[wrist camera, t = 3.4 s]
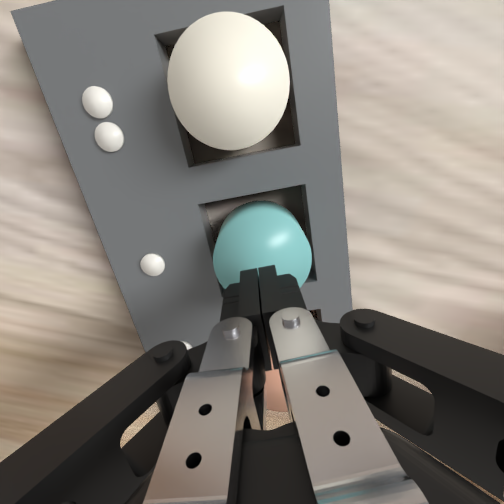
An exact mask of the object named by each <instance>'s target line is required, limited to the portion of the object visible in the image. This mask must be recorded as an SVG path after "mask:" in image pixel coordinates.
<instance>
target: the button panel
mask: <svg viewBox="0 0 504 504" xmlns="http://www.w3.org/2000/svg"><path fill="white" fill-rule="evenodd" d="M216 12H237V13H241V14H244V15H247V16H250V17H252V18H254V19H255V20H257V21H259V22H260V23H261V24H267V23H272V22H276V21H280V29H281V36H282V44H283V52H284V55H285V58H286V61H287V64H288V70H289V79H290V86H289V99H290V107H291V115H292V123H293V130H294V138H295V144H293V145H288V146H283V147H278V148H273V149H268V150H263V151H258V152H253V153H248V154H243V155H238V156H233V157H228V158H223V159H218V160H213V161H208V162H203V163H198V164H195V163H194V159H193V155H192V151H191V147H190V143H189V139H188V135H187V131H186V129H185V127H184V126H183V125H182V123H181V122H180V120H179V119H178V117H177V115H176V113H175V111H174V109H173V107H172V104H171V100H170V97H169V92H168V82H167V78H168V66H169V59H168V55H167V51H166V47H165V46H169V45H173V44H176V43H177V41H178V39H179V38H180V36H181V35H182V34H183V33H184V31H185V30H186V29H187V28H188V27H189V26H190V25H191V24H193V23H194V22H196V21H197V20H198V19H200V18H202V17H204V16H206V15H209V14H212V13H216ZM11 14H12V16H13V19H14V21H15V24H16V27H17V29H18V32H19V34H20V37H21V39H22V42H23V44H24V47H25V49H26V52H27V54H28V57H29V59H30V62H31V64H32V67H33V69H34V72H35V75H36V77H37V80H38V82H39V85H40V87H41V90H42V92H43V95H44V97H45V100H46V102H47V105H48V107H49V110H50V112H51V115H52V117H53V120H54V123H55V125H56V128H57V130H58V133H59V135H60V138H61V140H62V143H63V145H64V148H65V150H66V153H67V155H68V158H69V160H70V163H71V165H72V168H73V171H74V173H75V176H76V178H77V181H78V183H79V186H80V188H81V191H82V193H83V196H84V198H85V201H86V203H87V206H88V208H89V211H90V213H91V216H92V219H93V221H94V224H95V226H96V229H97V231H98V234H99V236H100V239H101V241H102V244H103V246H104V249H105V251H106V254H107V256H108V259H109V261H110V264H111V267H112V269H113V272H114V274H115V277H116V279H117V282H118V284H119V287H120V289H121V292H122V294H123V297H124V299H125V302H126V304H127V307H128V309H129V312H130V315H131V317H132V320H133V322H134V325H135V327H136V330H137V332H138V335H139V337H140V340H141V342H142V345H143V347H144V350H145V352H147V351H149V350H150V349H151V348H153V347H154V346H156V345H158V344H160V343H163V342H166V341H171V340H177V341H181V342H183V343H184V344H185V345H186V348H187V350H188V349H191V348H193V347H196V346H198V345H201V344H203V343H205V342H207V341H208V338H209V335H210V332H211V330H212V328H213V327H214V326H215V325H216V324H217V323H219V322H220V316H221V309H222V302H223V295H224V290H225V289H224V288H223V286H222V285H221V284H220V282H219V280H218V278H217V276H216V274H215V271H214V266H213V254H214V249H215V244H214V240H213V236H212V231H211V227H210V223H209V219H208V215H207V211H206V207H205V203H208V202H213V201H218V200H223V199H229V198H234V197H239V196H244V195H250V194H255V193H260V192H265V191H271V190H276V189H281V188H286V187H292V186H297V185H301V193H302V201H303V209H304V217H305V224H306V232H307V240H308V242H309V245H310V248H311V253H312V263H311V268H310V272H309V275H308V277H307V279H306V281H305V282H304V283H303V285H302V286H301V287H300V291H301V294H302V296H303V299H304V302H305V305H306V308H307V310H308V311H309V310H315V309H316V311H317V318H318V320H319V321H322V322H328V323H340V319H341V317H342V316H343V315H344V314H345V313H347V312H349V311H352V297H351V283H350V270H349V257H348V244H347V231H346V218H345V205H344V192H343V178H342V165H341V152H340V139H339V126H338V113H337V100H336V86H335V73H334V60H333V47H332V34H331V21H330V8H329V0H55V1H51V2H47V3H43V4H39V5H34V6H30V7H26V8H22V9H18V10H13V11H11ZM267 410H268V409H267Z"/></svg>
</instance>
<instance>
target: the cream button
mask: <svg viewBox="0 0 504 504" xmlns="http://www.w3.org/2000/svg"><path fill="white" fill-rule="evenodd" d="M167 82H168V92H169V97H170V100H171V104H172V107H173V109H174V111H175V113H176V115H177V117H178V119H179V120H180V122H181V123H182V125H183V126H184V127H185V129H186V130H187V131H188V132H189V133H190V134H191V135H192V136H194V137H195V138H196V139H197V140H199V141H201V142H202V143H204V144H206V145H208V146H211V147H214V148H217V149H222V150H238V149H243V148H247V147H250V146H252V145H254V144H256V143H258V142H260V141H261V140H263V139H264V138H265V137H266V136H268V135H269V134H270V133H271V131H272V130H273V129H274V128H275V127H276V125H277V124H278V122H279V121H280V119H281V117H282V115H283V113H284V110H285V108H286V105H287V101H288V96H289V86H290V79H289V70H288V64H287V61H286V58H285V55H284V53H283V50H282V48H281V46H280V44H279V43H278V41H277V39H276V38H275V37H274V36H273V34H272V33H271V32H270V31H269V30H268V29H267V28H266V27H265V26H264V25H263V24H261V23H260V22H259V21H257V20H255V19H254V18H252V17H250V16H247V15H244V14H241V13H237V12H216V13H212V14H209V15H206V16H204V17H202V18H200V19H198V20H197V21H196V22H194V23H193V24H191V25H190V26H189V27H188V28H187V29H186V30H185V31H184V33H183V34H182V35H181V36H180V38H179V39H178V41H177V43H176V45H175V47H174V49H173V51H172V54H171V57H170V61H169V66H168V78H167Z"/></svg>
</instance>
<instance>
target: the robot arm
mask: <svg viewBox="0 0 504 504" xmlns="http://www.w3.org/2000/svg"><path fill="white" fill-rule="evenodd" d="M258 272H259V275H258ZM270 353H271V356H270ZM271 358H272V362H273V367H274V370H276V369H279V374H280V379H281V384H282V389H283V393H284V397H285V401H286V406H287V410H288V414H289V418H290V422H291V423H288V424H286V425H283V426H281V427H278V428H276V429H273V430H266V417H267V389H266V384H265V382H266V373H265V371H270V370H272V365H271ZM392 369H393V370H395V371H397V372H399V373H401V374H403V375H406V376H408V377H410V378H412V379H414V380H416V381H418V382H420V383H422V384H423V385H424V386H426V387H427V388H428V389H429V390H430V392H431V393H432V394H430V393H428V392H426V391H424V390H422V389H420V388H418V387H416V386H414V385H412V384H410V383H408V382H406V381H404V380H402V379H400V378H398V377H396V376H394V375H392ZM155 402H157V405H158V407H159V410H160V412H159V413H158V414H157V415H156V416H155V417H154V418H153V419H152V420H151V421H149V422H148V423H147V424H146V425H145V426H144V427H143V428H142V429H141V430H140V431H139V432H138V433H137V434H136V435H135V436H134V437H133V438H132V439H131V440H130V441H129V442H128V443H126V444H125V445H124V446H123V447H122V448H121V447H120V440H121V437H122V435H123V433H124V431H125V430H126V429H127V427H128V426H130V425H131V424H132V423H133V422H134V421H135V420H136V419H137V418H138V417H139V416H140V415H142V414H143V413H144V412H145V411H146V410H147V409H148V408H149V407H150V406H151V405H152V404H153V403H155ZM375 419H376V420H378V421H380V422H381V423H383V424H384V425H386V426H387V427H389V428H390V429H392V430H394V431H395V432H397V433H398V434H400V435H401V436H403V437H404V438H403V437H401V436H399V435H397V434H396V433H394V432H391V431H389V430H387V429H384V428H381V427H379V425H378V423H377V422H376V420H375ZM405 438H406V439H408V440H409V441H408V440H406V439H405ZM410 441H411V442H412V443H411V442H410ZM413 443H414V444H415V445H417V446H418V447H420V448H422V449H423V450H425V451H426V452H428V453H429V454H431V455H432V456H434V457H436V458H437V459H439V460H440V461H442V462H443V463H445V464H446V465H448V466H449V467H451V468H453V469H454V470H456V471H457V472H459V473H460V474H462V475H463V476H465V477H467V478H468V479H470V480H471V481H473V482H474V483H476V484H477V485H479V486H481V487H482V488H484V489H485V490H487V491H488V492H490V493H491V494H493V495H495V496H496V497H498V498H499V499H501V500H502V501H504V355H502V354H499V353H496V352H493V351H490V350H487V349H484V348H482V347H479V346H476V345H473V344H470V343H467V342H464V341H461V340H459V339H456V338H453V337H450V336H447V335H444V334H441V333H439V332H436V331H433V330H430V329H427V328H424V327H421V326H418V325H416V324H413V323H410V322H407V321H404V320H401V319H398V318H396V317H393V316H390V315H387V314H384V313H381V312H378V311H375V310H371V309H356V310H352V311H349V312H347V313H345V314H344V315H343V316H342V317H341V319H340V323H328V322H322V321H319V320H316V319H314V318H313V316H312V314H311V313H310V312H309V311H308V310H307V308H306V305H305V302H304V299H303V296H302V294H301V291H300V288H299V285H298V282H297V279H296V278H295V277H294V276H292V275H291V274H283V275H278V276H277V272H276V268H275V265H270V266H264V267H259V268H258V270H257V268H253V269H248V270H242V271H240V282H239V283H233V284H229V286H228V287H227V288H226V289H225V290H224V295H223V302H222V309H221V316H220V322H219V323H217V324H216V325H215V326H214V327H213V328H212V330H211V332H210V335H209V338H208V341H207V342H205V343H203V344H201V345H198V346H196V347H193V348H191V349H188V350H187V348H186V345H185V344H184V343H183V342H181V341H177V340H171V341H166V342H163V343H160V344H158V345H156V346H154V347H153V348H151V349H150V350H149V351H147V352H146V353H145V354H143V355H142V356H141V357H139V358H138V359H137V360H135V361H134V362H133V363H131V364H130V365H129V366H127V367H126V368H125V369H123V370H122V371H121V372H120V373H118V374H117V375H116V376H114V377H113V378H112V379H110V380H109V381H108V382H106V383H105V384H104V385H102V386H101V387H100V388H98V389H97V390H96V391H94V392H93V393H92V394H90V395H89V396H88V397H86V398H85V399H84V400H82V401H81V402H80V403H79V404H77V405H76V406H75V407H73V408H72V409H71V410H69V411H68V412H67V413H65V414H64V415H63V416H61V417H60V418H59V419H57V420H56V421H55V422H53V423H52V424H51V425H49V426H48V427H47V428H45V429H44V430H43V431H41V432H40V433H39V434H38V435H36V436H35V437H34V438H32V439H31V440H30V441H28V442H27V443H26V444H24V445H23V446H22V447H20V448H19V449H18V450H16V451H15V452H14V453H12V454H11V455H10V456H8V457H7V458H6V459H4V460H3V461H2V462H0V504H500V503H499V502H497V501H496V500H494V499H493V498H492V497H490V496H489V495H487V494H486V493H484V492H483V491H481V490H480V489H478V488H477V487H475V486H474V485H473V484H471V483H470V482H468V481H467V480H465V479H464V478H462V477H461V476H459V475H458V474H456V473H455V472H454V471H452V470H451V469H449V468H448V467H446V466H445V465H443V464H442V463H440V462H439V461H437V460H436V459H435V458H433V457H432V456H430V455H429V454H427V453H426V452H424V451H423V450H421V449H420V448H418V447H417V446H415V445H414V444H413Z"/></svg>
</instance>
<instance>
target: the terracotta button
mask: <svg viewBox="0 0 504 504" xmlns="http://www.w3.org/2000/svg"><path fill="white" fill-rule="evenodd" d="M270 356H271V353H270ZM271 365H272V370H270V371H265V373H266V382H265V384H266V389H267V409H268V410H272V411H278V412H288V410H287V406H286V401H285V397H284V393H283V389H282V384H281V379H280V374H279V369H276V370H274V367H273V362H272V358H271Z"/></svg>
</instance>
